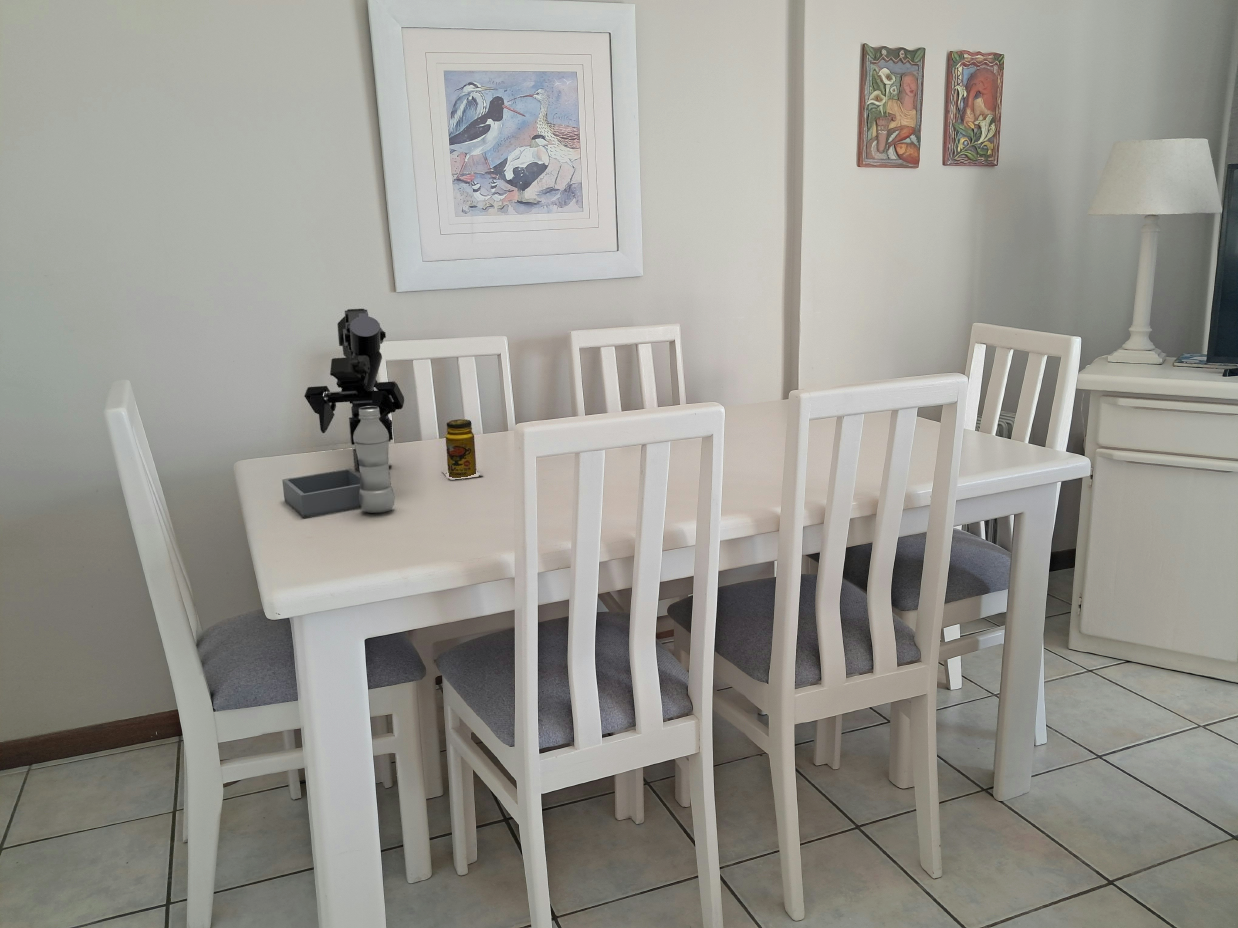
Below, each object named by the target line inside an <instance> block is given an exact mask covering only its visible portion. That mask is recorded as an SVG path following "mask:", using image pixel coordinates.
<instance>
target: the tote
mask: <svg viewBox="0 0 1238 928" xmlns="http://www.w3.org/2000/svg"><path fill="white" fill-rule="evenodd" d="M281 482H282V488H283V498H284V499H283V500H284V502H285V503H286V505H288V506H289V507H290V508H291V509H292V510H294V511H295V513H297V514H298V515H299V516H300V517H301V518H302V519H309V518H313V517H320V516H326V515H330V514H337V513H341V512H346V511H352V510H353V511H354V510H358V509H362V508H361V505H360V501H359V492H360V473H358V472H356V471H355V470H353V469H352V468H345V469H339V470H334V471H327V472H321V473H315V474H308V475H301V476H296V477H289V478H284V479H281Z"/></svg>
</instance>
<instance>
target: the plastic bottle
mask: <svg viewBox="0 0 1238 928" xmlns="http://www.w3.org/2000/svg"><path fill="white" fill-rule="evenodd" d="M379 418H380V413H379V407H377V406H366V407H361V408H359V419H361V421H360V423H359V425H358V426H357V428H356V430H355V432H354V435H353V439H354V449H355V448H356V452H357V456H358V462H359V469H360V470H359V474H360V492H359V501H360V505H361V508H360V509H362V511H364V512H366V513H369V514H378V513H379V514H380V513H385V512H389V511H391V510H392V509H393V507H394V506H395V501H396V495H395V491H394V487H393V486H392V481H391V473H390V469H389V465H390V464H389V462H390V461H389V448H390V447H389V446H390V442H389V434H388V431H387V429H386V428H385V427H384V425H383V424H382V423H381V422H380V421H379Z"/></svg>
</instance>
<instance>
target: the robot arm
mask: <svg viewBox="0 0 1238 928" xmlns="http://www.w3.org/2000/svg"><path fill="white" fill-rule="evenodd" d="M386 337H387V335H386V331H385V330H383V329H382V326H381V324H380V322H379V321H378V320H377V319H376V318H374V317H371V316H369V312H368V309H365V308H348V309H346V310H344V316H342V318H341V319H340V320H339V321H338V322H337V338H338V339H337V340H338V345H339V346H338V347H342V354H343V356H344V357H337V358H336V357H333V358H332V359H331V360H330V361H331V362H330V372H329V375H330V376H331V377H333V378H334V379H336V386H337V387H338V388H339V389H341V390H338V391H331V390H330V389H329V387H328V386H327V385H321V386H320V385H319V386H317V385H315V386H308V387H307V388H306V390H305V393H304V396H303V397H304V398H305V400H306V401H307V403H308V404H309V406H310V408H311V409H312V410H313V412H314V413H315V414H317V415H318V419H319V426H320V427H319V429H320V432H321V433H322V434H325V433H326V432H327V431H328V428H329V427H330V425H331V422H332V420H333V419H334V417H335V413H334V412H335V411H336V409H337V404H338V403H339V404H340V403H349V404H351V417H348V427H349V437H350V438H349V439H350V444H351V446H355V444H354V439H353V435H354V432H355V430H356V428H357V426H358V425H359V423H360V421H361V419H359V408H361V407H366V406H377V407H379V413H380V418H379V421H380V422H381V423H382V424H383V425H384V427H385V428H386V429H387V431H388V434H389V443H390V442H391V441H393V436H394V435H393V420H391V419H390V416H389V415H390V414H392V413H395V412H396V411H397V410H402V409H403V408H404V404H405V397H404V395H403V392H402V391H401V389H400V387H399V384H398V383H397V382H396V381H394V380H392V381H378V380H377V376H378V374H379V370H380V367H381V363H382V360H383V354H382V353H381V344H383V342H384V339H386ZM352 454H353V455H352V456H353V467H354V468H355V469H357V470H358V471H360V469H359V462H358V456H357V452H356V448H355V447H354V448H353V449H352ZM390 469H392V465H390V464H389V470H390Z"/></svg>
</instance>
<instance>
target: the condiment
mask: <svg viewBox="0 0 1238 928" xmlns="http://www.w3.org/2000/svg"><path fill="white" fill-rule="evenodd" d="M472 424H473V423H472V421H471V420H470V419H465V418H463V419H462V418H461V419H452V420H449V421H447V422H446V432H447V433H446V434H445V447H446V448H445V449H446V465H447V471H448V473H449V477H452V478H461V477H468V476H471V475H474V474H476V470H477V457H476V443H475V434H474V432H473V427H472V426H473V425H472ZM445 474H447V472H446V473H445Z"/></svg>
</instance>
